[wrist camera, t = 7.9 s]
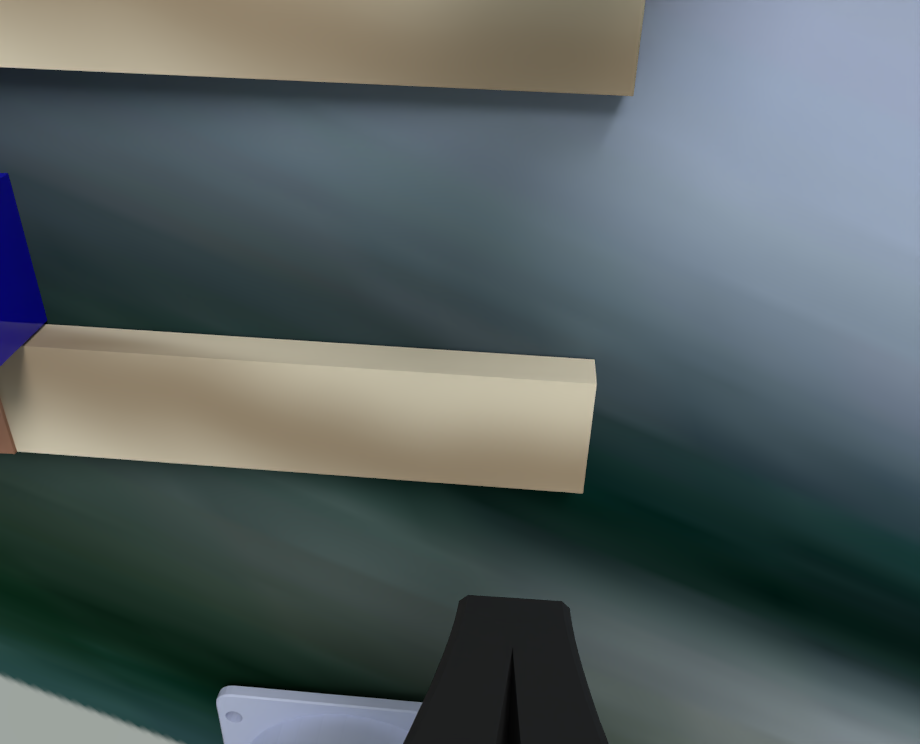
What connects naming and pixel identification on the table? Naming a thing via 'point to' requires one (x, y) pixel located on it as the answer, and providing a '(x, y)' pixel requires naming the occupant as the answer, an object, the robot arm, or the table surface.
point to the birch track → (307, 362)
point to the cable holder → (16, 279)
